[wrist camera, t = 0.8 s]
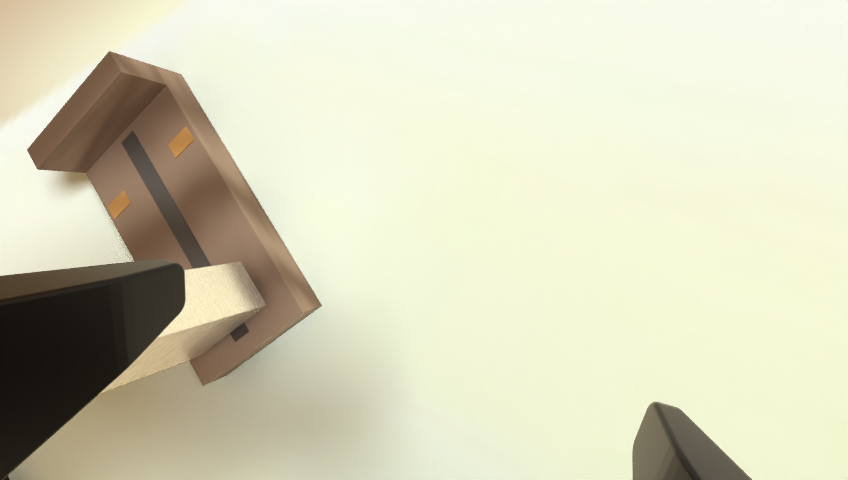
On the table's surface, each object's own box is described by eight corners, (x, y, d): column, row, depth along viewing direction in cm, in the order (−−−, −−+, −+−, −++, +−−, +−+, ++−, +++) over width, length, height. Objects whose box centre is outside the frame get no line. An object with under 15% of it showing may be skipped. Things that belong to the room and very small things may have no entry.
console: (321, 305, 29) (269, 324, 25) (226, 375, 32) (163, 404, 27) (181, 74, 32) (109, 51, 27) (104, 157, 34) (27, 149, 30)
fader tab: (272, 300, 27) (46, 365, 16) (195, 359, 30) (-51, 453, 18) (246, 256, 28) (8, 290, 17) (172, 318, 30) (-82, 384, 19)
